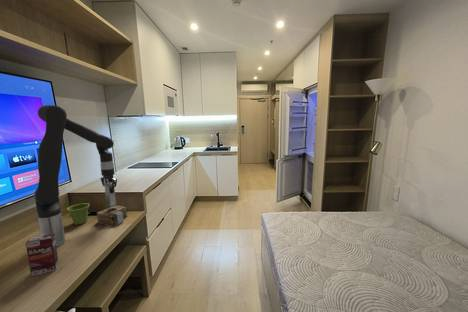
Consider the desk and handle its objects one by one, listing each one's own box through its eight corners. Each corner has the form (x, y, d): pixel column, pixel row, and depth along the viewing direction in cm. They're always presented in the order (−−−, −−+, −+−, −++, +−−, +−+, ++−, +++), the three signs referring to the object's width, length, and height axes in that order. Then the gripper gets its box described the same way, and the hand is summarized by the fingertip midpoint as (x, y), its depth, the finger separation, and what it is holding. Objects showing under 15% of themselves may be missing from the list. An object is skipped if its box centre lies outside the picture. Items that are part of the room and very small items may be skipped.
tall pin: (110, 206, 135) (108, 186, 133) (106, 205, 137) (104, 185, 135) (116, 204, 139) (114, 184, 137) (112, 203, 140) (110, 184, 138)
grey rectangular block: (118, 224, 132) (117, 214, 131) (114, 223, 134) (113, 213, 133) (123, 221, 136) (122, 212, 135) (119, 220, 138) (118, 211, 136)
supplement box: (30, 277, 87) (24, 243, 84) (35, 270, 91) (29, 237, 88) (56, 270, 91) (51, 237, 88) (59, 264, 95) (54, 232, 92)
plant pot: (94, 217, 142) (93, 202, 140) (85, 226, 130) (82, 209, 129) (76, 219, 140) (74, 203, 139) (64, 227, 129) (62, 210, 127)
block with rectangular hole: (107, 225, 131) (106, 215, 130) (98, 222, 135) (96, 212, 134) (126, 216, 144) (126, 207, 143) (117, 214, 148) (116, 205, 147)
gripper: (94, 168, 133) (97, 193, 136) (109, 170, 128) (111, 195, 130) (105, 166, 140) (108, 189, 143) (120, 167, 134) (122, 192, 137)
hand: (110, 192), depth 136 cm, fingers closed on tall pin, 4 cm apart
